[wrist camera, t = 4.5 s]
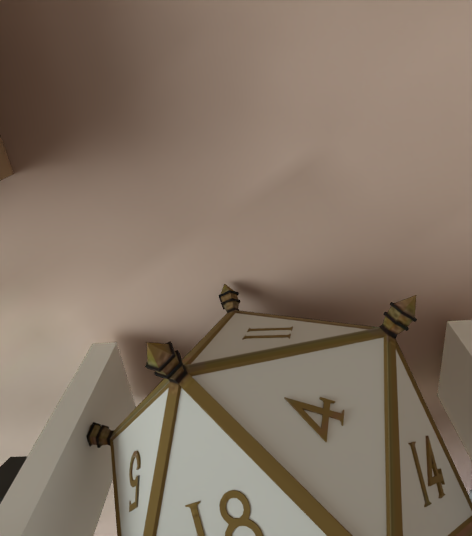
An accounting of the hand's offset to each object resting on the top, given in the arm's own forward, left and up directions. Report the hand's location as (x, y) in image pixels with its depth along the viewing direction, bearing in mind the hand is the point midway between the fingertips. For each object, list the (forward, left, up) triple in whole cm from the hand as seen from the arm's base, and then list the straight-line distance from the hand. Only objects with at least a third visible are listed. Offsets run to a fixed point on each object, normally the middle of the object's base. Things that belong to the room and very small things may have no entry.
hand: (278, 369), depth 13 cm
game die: (0, 0, -1) cm, 1 cm away
